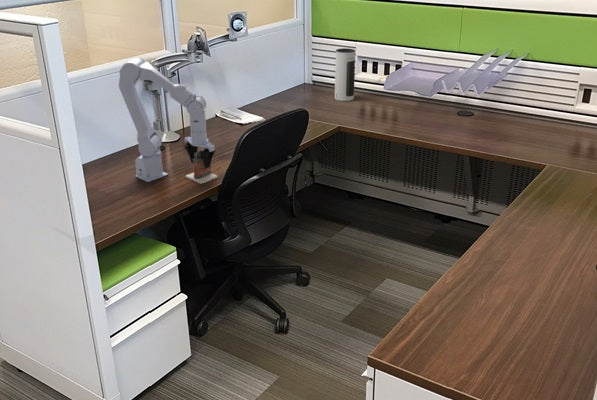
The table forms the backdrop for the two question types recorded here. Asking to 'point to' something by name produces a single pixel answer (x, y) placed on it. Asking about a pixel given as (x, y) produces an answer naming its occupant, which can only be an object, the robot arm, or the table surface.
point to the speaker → (344, 74)
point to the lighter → (200, 166)
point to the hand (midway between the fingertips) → (200, 164)
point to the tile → (201, 180)
